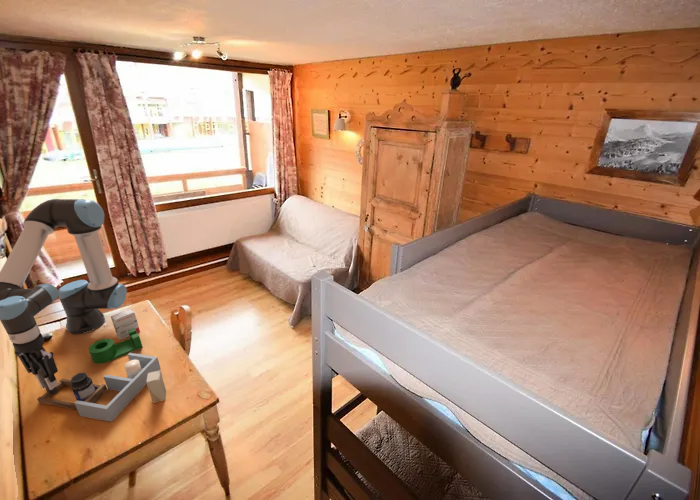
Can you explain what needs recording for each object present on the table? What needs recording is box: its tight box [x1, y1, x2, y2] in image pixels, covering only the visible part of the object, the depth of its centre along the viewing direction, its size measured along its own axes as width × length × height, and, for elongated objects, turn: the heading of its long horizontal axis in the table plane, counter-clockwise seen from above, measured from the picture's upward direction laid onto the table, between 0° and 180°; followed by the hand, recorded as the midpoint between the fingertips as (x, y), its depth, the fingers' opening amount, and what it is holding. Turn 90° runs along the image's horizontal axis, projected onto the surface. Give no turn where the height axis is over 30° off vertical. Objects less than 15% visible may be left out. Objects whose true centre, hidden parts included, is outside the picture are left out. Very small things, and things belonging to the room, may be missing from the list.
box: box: [146, 369, 167, 404], centre depth 123 cm, size 5×4×11 cm
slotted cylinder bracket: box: [88, 328, 143, 365], centre depth 145 cm, size 18×9×6 cm, turn 135°
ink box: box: [110, 308, 141, 341], centre depth 155 cm, size 9×5×12 cm, turn 141°
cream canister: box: [124, 360, 143, 379], centre depth 131 cm, size 5×5×8 cm
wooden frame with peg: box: [36, 368, 108, 411], centre depth 121 cm, size 10×20×12 cm, turn 81°
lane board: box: [73, 352, 161, 423], centre depth 126 cm, size 26×13×6 cm, turn 171°
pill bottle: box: [70, 372, 96, 401], centre depth 121 cm, size 6×6×11 cm
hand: (50, 386), depth 123 cm, fingers closed on wooden frame with peg, 3 cm apart
